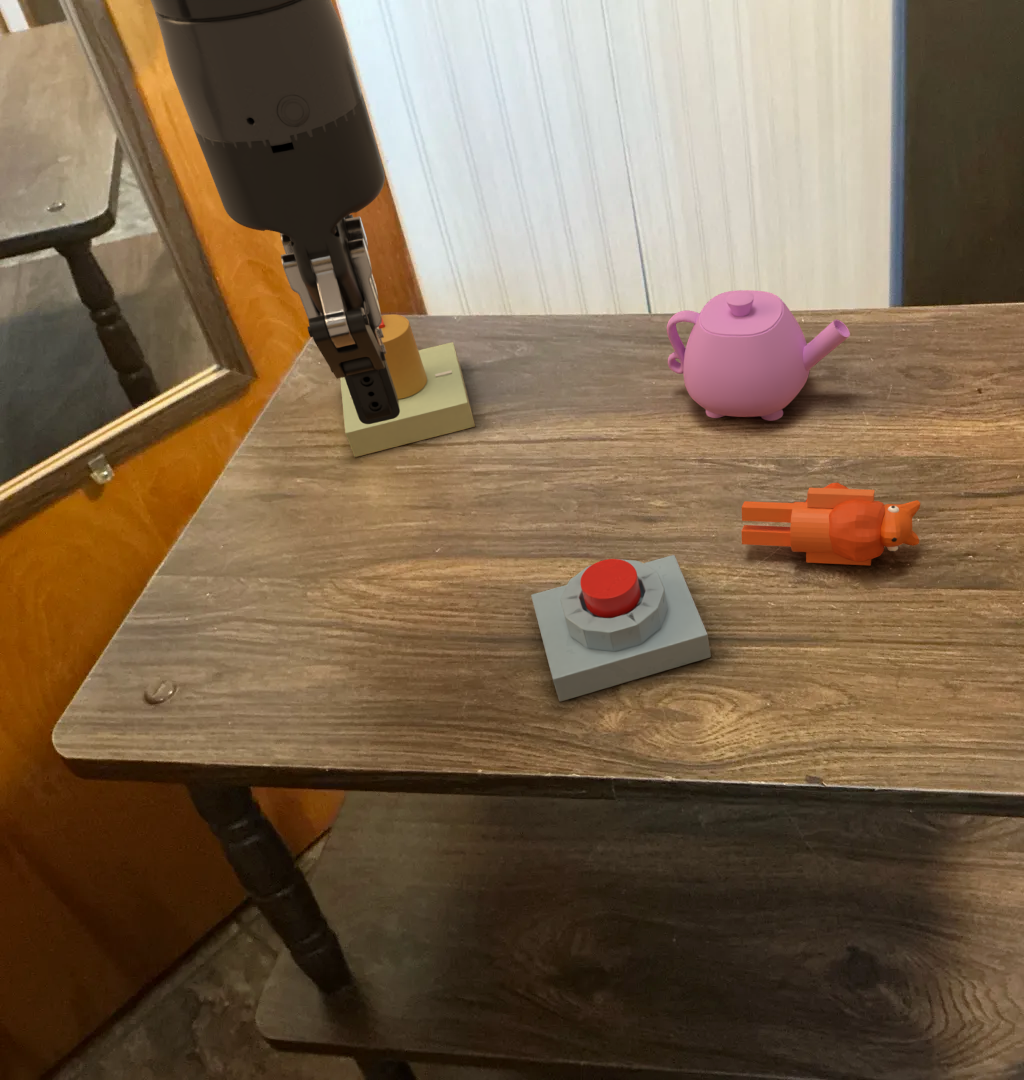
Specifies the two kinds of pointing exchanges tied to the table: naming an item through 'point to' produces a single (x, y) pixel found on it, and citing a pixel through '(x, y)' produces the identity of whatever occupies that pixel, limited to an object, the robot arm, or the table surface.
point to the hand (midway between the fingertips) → (380, 414)
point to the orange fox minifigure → (833, 525)
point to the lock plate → (416, 407)
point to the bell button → (610, 588)
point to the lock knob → (402, 356)
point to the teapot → (747, 354)
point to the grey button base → (620, 632)
